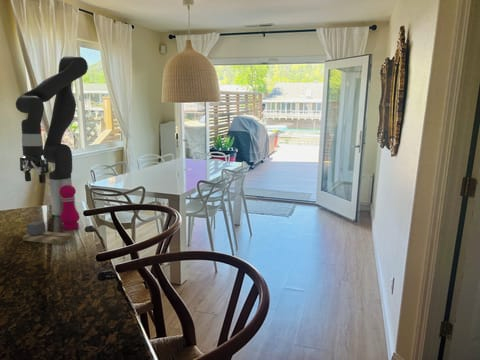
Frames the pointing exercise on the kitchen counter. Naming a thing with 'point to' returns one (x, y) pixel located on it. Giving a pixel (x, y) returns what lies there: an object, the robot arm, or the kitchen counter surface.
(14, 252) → the kitchen counter surface
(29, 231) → the selector knob
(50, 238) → the selector board
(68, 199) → the pepper mill
